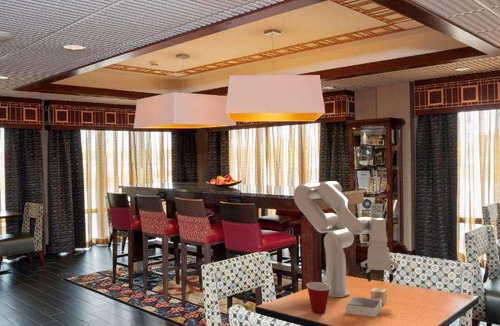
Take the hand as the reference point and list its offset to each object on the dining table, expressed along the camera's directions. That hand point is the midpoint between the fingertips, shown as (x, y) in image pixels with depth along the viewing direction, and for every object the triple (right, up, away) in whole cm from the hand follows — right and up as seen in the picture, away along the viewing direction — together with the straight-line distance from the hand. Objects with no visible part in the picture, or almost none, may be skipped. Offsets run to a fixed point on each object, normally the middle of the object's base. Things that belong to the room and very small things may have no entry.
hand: (380, 281), depth 224 cm
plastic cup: (-30, -11, -11) cm, 34 cm away
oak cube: (0, -10, +1) cm, 10 cm away
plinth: (-10, -10, -11) cm, 18 cm away
